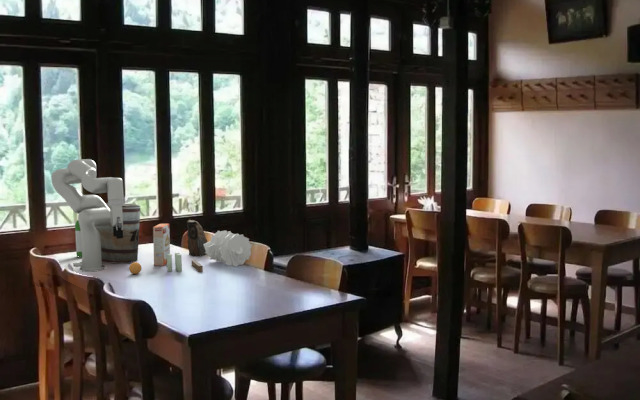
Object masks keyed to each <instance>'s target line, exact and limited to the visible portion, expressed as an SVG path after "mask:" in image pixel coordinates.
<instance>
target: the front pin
mask: <svg viewBox="0 0 640 400" xmlns="http://www.w3.org/2000/svg"><path fill="white" fill-rule="evenodd" d="M172 256H173V255H172V254H171V253H170V254H167V264H166V268H167V270H166V271H167V272H173V259H172Z"/></svg>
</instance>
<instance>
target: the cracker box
mask: <svg viewBox="0 0 640 400" xmlns="http://www.w3.org/2000/svg"><path fill="white" fill-rule="evenodd" d="M170 231H171V230H170V223H159V224H157V225H155V226H152V237H153V240H152V241H153V265H154V266H156V267H157V266H159V267H160V266H162V267H163V266H165V265H167V254H171V243H170V242H171V239H170V234H171V233H170Z"/></svg>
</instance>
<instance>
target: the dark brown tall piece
mask: <svg viewBox="0 0 640 400" xmlns="http://www.w3.org/2000/svg"><path fill="white" fill-rule="evenodd" d="M186 225H187V226H186V228H187V235H186V236H187V249H188V254H189V255H188V256H192V257H198V258H199V257H200V258H202V257H203V256H208V255H207V254H206V253H205V252H206V251H205V248H204V245H203V244H205V243H207V242H209V241H208V240H207V237H206V234H205V231H204V229H203V227H202V225H201V224H200V223H199V222H198V221H196V220H193V219H192V220H191V219H189V220H187V221H186Z"/></svg>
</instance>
